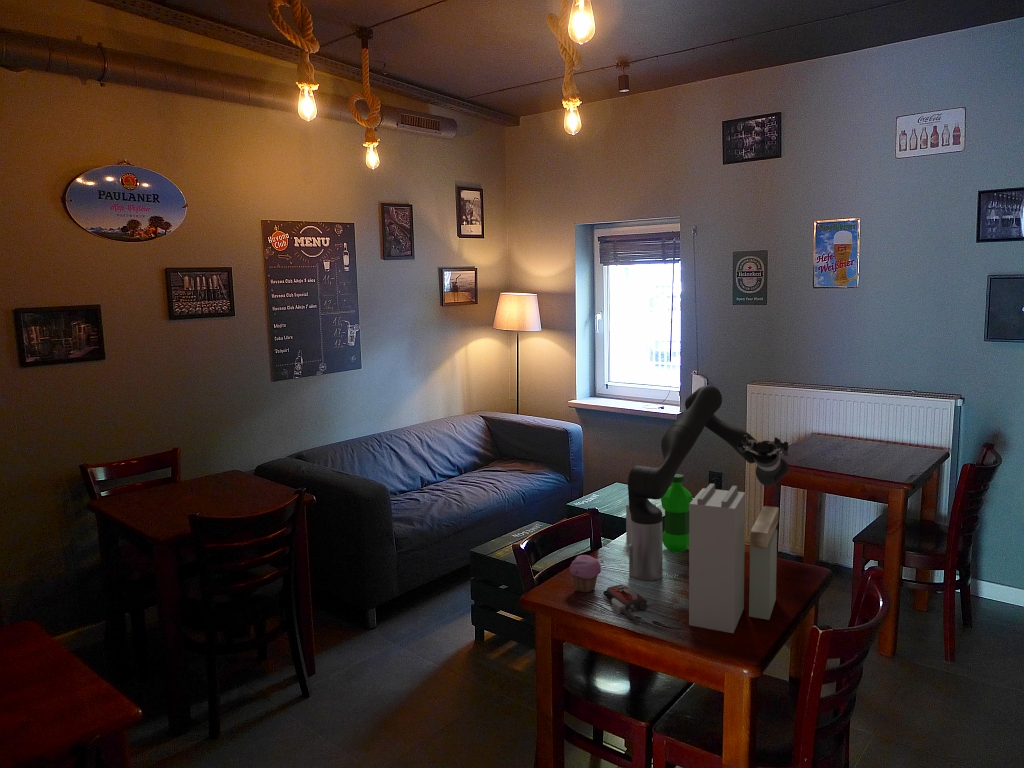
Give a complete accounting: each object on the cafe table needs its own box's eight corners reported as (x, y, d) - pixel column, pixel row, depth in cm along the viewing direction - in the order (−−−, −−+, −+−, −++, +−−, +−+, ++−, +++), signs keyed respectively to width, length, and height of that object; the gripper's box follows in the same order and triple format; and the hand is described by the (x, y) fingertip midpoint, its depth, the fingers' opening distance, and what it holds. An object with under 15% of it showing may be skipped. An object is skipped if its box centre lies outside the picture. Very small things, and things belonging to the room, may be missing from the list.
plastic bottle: (698, 548, 236) (699, 474, 232) (681, 558, 228) (681, 481, 225) (672, 542, 243) (672, 469, 239) (654, 550, 235) (654, 476, 232)
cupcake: (579, 581, 213) (578, 548, 211) (606, 587, 208) (605, 554, 207) (565, 592, 205) (564, 558, 204) (592, 598, 201) (592, 564, 199)
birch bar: (750, 546, 182) (750, 531, 181) (763, 519, 202) (763, 505, 201) (766, 548, 180) (767, 533, 179) (778, 521, 200) (778, 507, 200)
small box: (638, 546, 239) (638, 509, 238) (625, 541, 244) (625, 504, 243) (656, 541, 244) (656, 504, 242) (643, 536, 249) (643, 500, 247)
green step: (749, 616, 187) (750, 542, 184) (756, 596, 199) (757, 527, 196) (769, 619, 185) (770, 545, 182) (775, 599, 196) (777, 529, 194)
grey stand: (689, 625, 183) (689, 497, 179) (702, 601, 196) (702, 482, 192) (733, 633, 178) (734, 502, 174) (743, 608, 192) (745, 486, 187)
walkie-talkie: (596, 598, 202) (635, 628, 184) (596, 583, 201) (635, 611, 183) (623, 592, 205) (664, 621, 187) (623, 577, 205) (664, 604, 186)
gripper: (743, 443, 226) (736, 425, 213) (792, 446, 220) (787, 428, 206) (741, 465, 224) (733, 449, 210) (790, 469, 217) (785, 453, 204)
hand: (760, 439), depth 208 cm, fingers open, 8 cm apart
